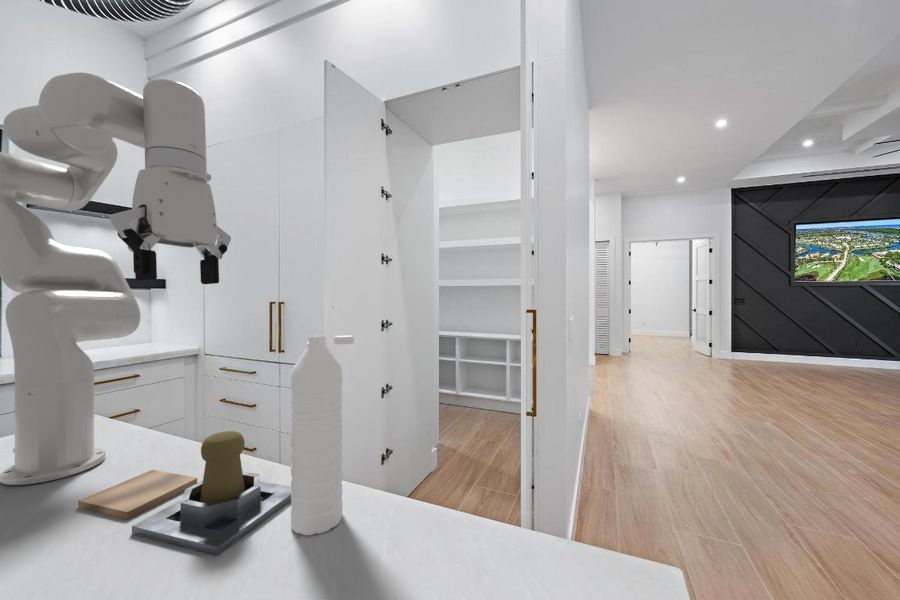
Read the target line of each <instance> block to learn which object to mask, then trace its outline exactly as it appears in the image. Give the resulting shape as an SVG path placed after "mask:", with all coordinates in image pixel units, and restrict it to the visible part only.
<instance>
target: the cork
mask: <svg viewBox="0 0 900 600" xmlns="http://www.w3.org/2000/svg"><path fill="white" fill-rule="evenodd" d="M244 448H245V438H244V436H243V434H242V433H240V432H238V431H236V430H235V431H234V430H229V431H228V430H227V431H221V432H216V433H214V434H211V435H209V436H207V437H206V438H205V439H204V441H202V444H201V447H200V455H201V458H202V460H203V461H205V464H204V465H205V466H204V472H203V478H202V481H203V484H202V491H201V497H200V502H201V503H206V504H208V503H212V502H217V501H221V500H226V499H230V498H235V497H237V496H238V495H240V494H242V493H243V492H245V485H244V479H243V472H244V471H243V466H242V461H241V454H242V453H243V451H244ZM242 471H243V472H242Z"/></svg>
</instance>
